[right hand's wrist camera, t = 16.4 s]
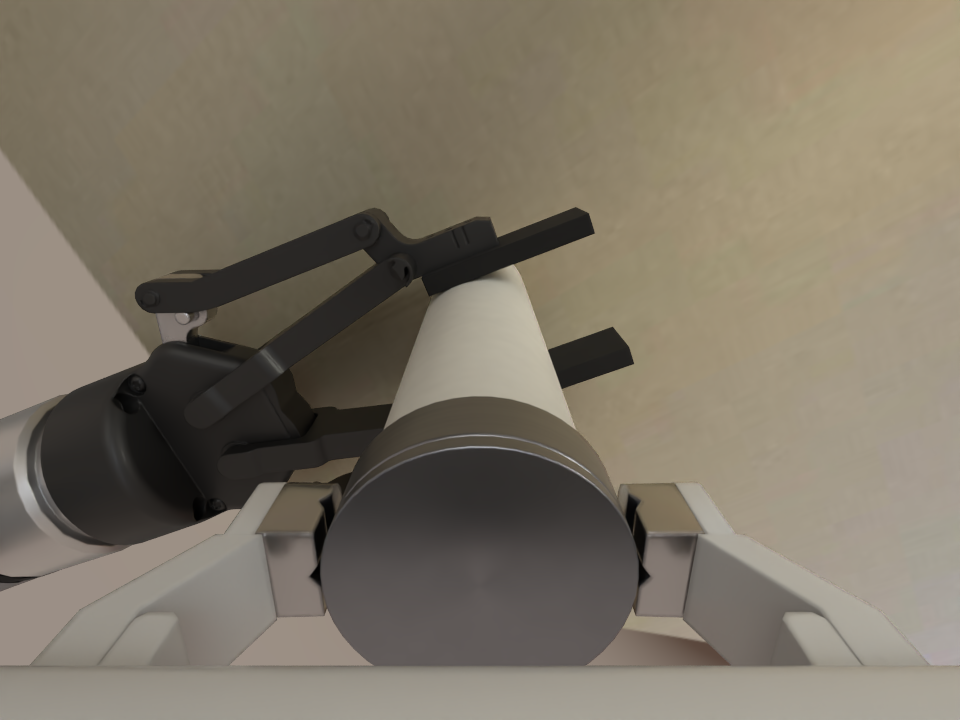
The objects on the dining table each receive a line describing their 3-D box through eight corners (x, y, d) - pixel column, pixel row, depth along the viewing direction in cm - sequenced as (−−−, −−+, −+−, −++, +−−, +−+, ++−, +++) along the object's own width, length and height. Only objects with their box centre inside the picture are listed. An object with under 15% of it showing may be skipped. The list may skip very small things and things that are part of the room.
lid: (440, 339, 9) (431, 382, 7) (668, 486, 10) (708, 553, 8) (299, 542, 11) (263, 617, 9) (510, 651, 12) (514, 736, 10)
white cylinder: (537, 266, 27) (659, 489, 9) (507, 348, 29) (555, 683, 10) (450, 237, 26) (382, 408, 8) (424, 321, 28) (318, 626, 10)
